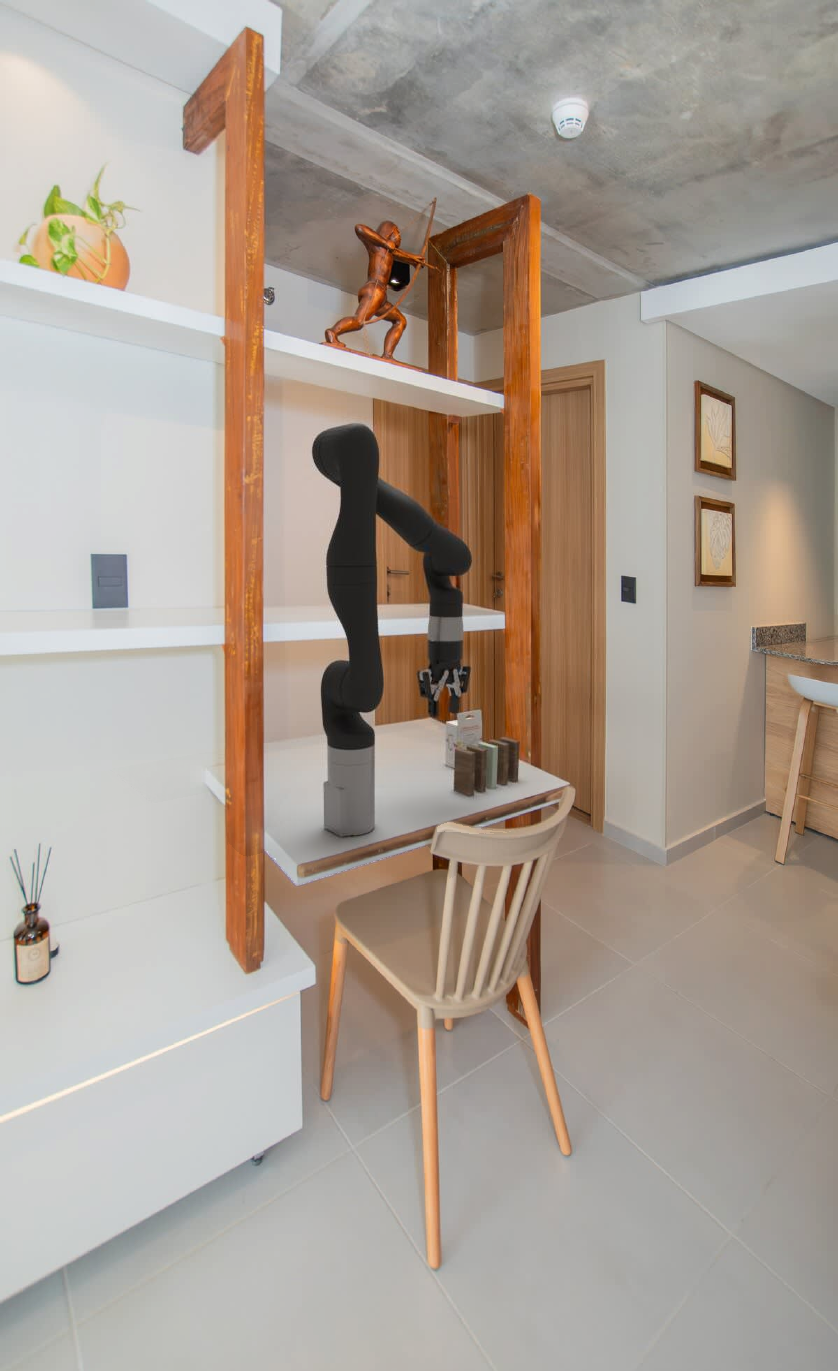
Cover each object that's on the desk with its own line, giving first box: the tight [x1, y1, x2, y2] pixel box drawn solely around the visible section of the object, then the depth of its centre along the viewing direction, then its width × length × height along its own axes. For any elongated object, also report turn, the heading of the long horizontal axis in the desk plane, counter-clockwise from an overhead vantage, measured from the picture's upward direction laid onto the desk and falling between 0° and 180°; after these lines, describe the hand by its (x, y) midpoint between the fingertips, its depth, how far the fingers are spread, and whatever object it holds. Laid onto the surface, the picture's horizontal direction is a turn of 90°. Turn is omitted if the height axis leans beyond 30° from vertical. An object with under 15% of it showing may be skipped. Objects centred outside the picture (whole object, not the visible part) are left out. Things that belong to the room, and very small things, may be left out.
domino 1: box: [453, 748, 475, 797], centre depth 151 cm, size 2×5×10 cm, turn 41°
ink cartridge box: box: [445, 709, 483, 769], centre depth 171 cm, size 9×5×15 cm, turn 126°
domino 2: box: [466, 745, 487, 793], centre depth 153 cm, size 2×5×10 cm, turn 41°
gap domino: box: [478, 741, 498, 790], centre depth 156 cm, size 2×5×10 cm, turn 41°
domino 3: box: [488, 739, 509, 786], centre depth 158 cm, size 2×5×10 cm, turn 41°
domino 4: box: [499, 736, 521, 783], centre depth 160 cm, size 2×5×10 cm, turn 41°
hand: (443, 714), depth 143 cm, fingers open, 5 cm apart
